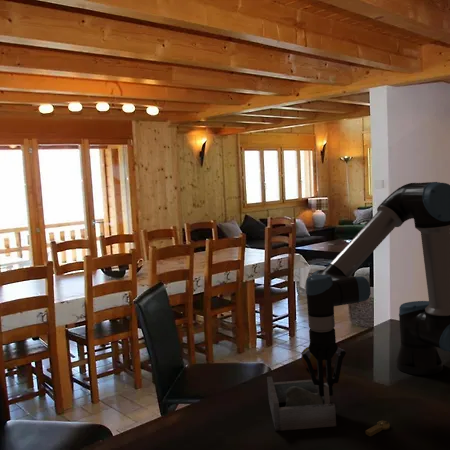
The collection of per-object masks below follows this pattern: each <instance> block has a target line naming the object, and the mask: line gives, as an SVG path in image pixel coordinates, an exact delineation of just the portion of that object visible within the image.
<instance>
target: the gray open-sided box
mask: <svg viewBox="0 0 450 450" xmlns="http://www.w3.org/2000/svg"><path fill="white" fill-rule="evenodd" d="M266 380H267V395H268V403H269V408H270V413H271V416H272V417H271V418H272V421H273V426H274V431H275V432H278V431H280V432H281V431H292V430H304V429H306V430H307V429H317V428H330V427H337V415H336V404H335V403H334V402H332V403H331V402H330V403H328V404H316V405H304V406H291V407H286V406H281V407H280V404H281V403H282V404H283V403H286V399H287V398H286V397H287V395H286V391H287V389H288V388H290V387H292V386H297V387H301V388H303V389H306V390H307V391H310V392H311V393H319V385H314V383H313V381H312V379H303V380H290V381H287V380H286V381H277V382H274V380H273V376H267V377H266ZM322 397H323V396H322Z"/></svg>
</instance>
